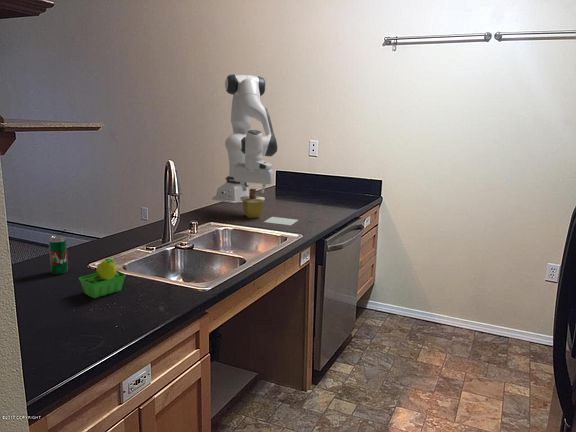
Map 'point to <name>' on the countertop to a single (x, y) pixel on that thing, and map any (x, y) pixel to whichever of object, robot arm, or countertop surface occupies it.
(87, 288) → the fruit basket
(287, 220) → the mat
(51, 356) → the countertop surface
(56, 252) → the soda can
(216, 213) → the countertop surface
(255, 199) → the lid
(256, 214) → the flower pot
